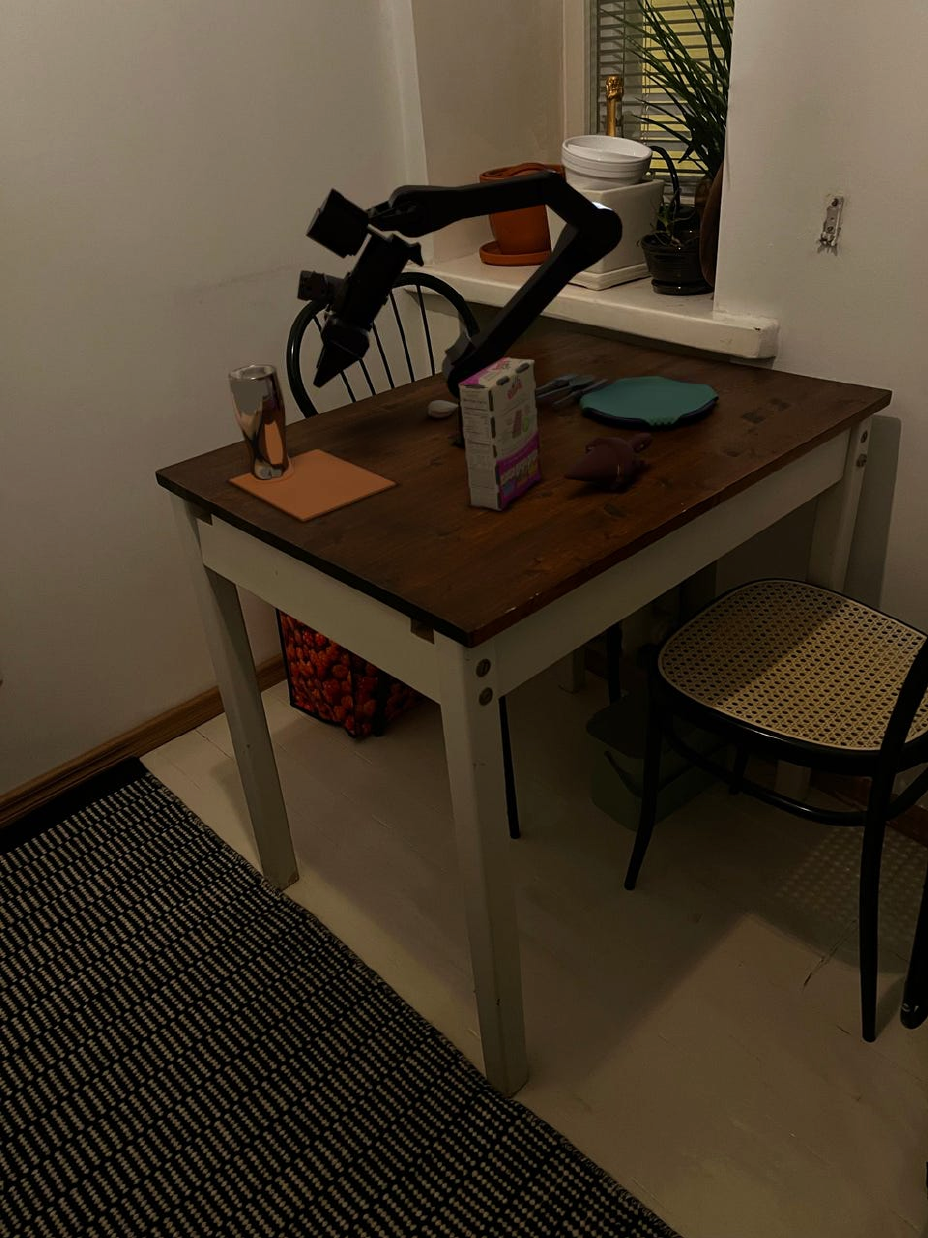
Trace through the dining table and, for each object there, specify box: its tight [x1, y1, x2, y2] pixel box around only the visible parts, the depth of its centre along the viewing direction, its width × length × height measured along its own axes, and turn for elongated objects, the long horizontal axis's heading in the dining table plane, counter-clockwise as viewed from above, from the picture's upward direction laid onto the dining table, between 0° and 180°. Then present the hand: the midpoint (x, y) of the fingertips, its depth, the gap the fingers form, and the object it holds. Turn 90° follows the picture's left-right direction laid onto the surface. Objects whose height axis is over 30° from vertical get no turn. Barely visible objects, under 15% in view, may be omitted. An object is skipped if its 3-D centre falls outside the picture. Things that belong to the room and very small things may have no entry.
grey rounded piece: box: [427, 399, 459, 419], centre depth 153 cm, size 4×5×2 cm
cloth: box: [228, 448, 397, 523], centre depth 134 cm, size 20×15×1 cm
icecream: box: [562, 432, 654, 492], centre depth 123 cm, size 7×7×15 cm
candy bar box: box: [458, 356, 542, 512], centre depth 122 cm, size 11×5×16 cm, turn 148°
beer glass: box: [228, 364, 294, 483], centre depth 133 cm, size 7×7×15 cm
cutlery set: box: [536, 372, 720, 428], centre depth 151 cm, size 20×30×2 cm, turn 46°
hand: (317, 377), depth 133 cm, fingers open, 9 cm apart
